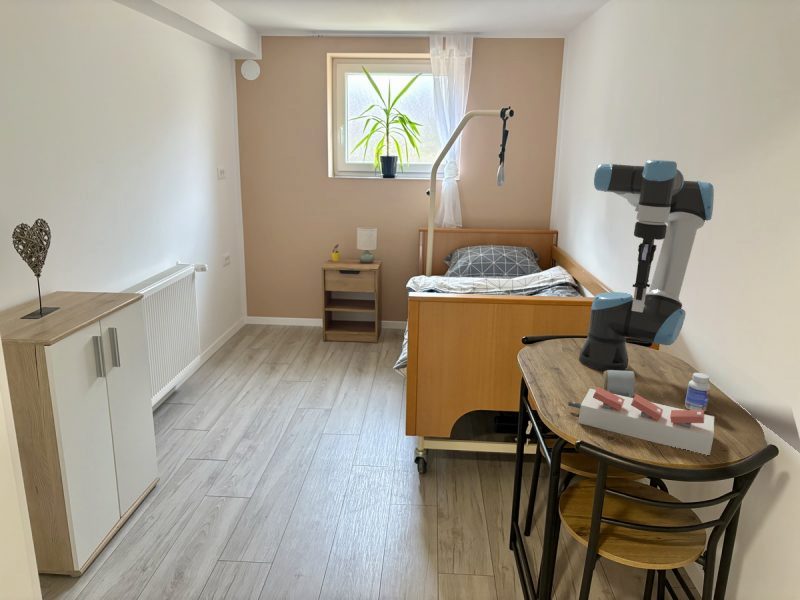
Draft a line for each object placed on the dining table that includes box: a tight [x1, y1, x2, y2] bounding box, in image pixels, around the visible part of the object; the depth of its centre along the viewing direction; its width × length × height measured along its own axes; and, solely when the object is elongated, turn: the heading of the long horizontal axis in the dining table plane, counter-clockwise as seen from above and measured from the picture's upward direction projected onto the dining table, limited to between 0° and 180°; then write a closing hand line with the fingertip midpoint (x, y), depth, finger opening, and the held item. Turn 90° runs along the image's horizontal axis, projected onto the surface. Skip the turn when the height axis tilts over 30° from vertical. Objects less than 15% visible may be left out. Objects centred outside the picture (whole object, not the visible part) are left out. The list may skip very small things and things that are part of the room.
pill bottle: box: [684, 372, 712, 412], centre depth 160 cm, size 5×5×10 cm
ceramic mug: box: [601, 370, 636, 398], centre depth 165 cm, size 11×8×8 cm
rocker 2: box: [631, 394, 663, 421], centre depth 144 cm, size 4×7×2 cm, turn 62°
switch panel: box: [567, 388, 715, 456], centre depth 148 cm, size 12×34×6 cm, turn 62°
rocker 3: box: [670, 409, 705, 423], centre depth 140 cm, size 4×7×2 cm, turn 62°
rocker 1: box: [593, 386, 625, 411], centre depth 148 cm, size 4×7×2 cm, turn 62°
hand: (637, 310), depth 156 cm, fingers closed
